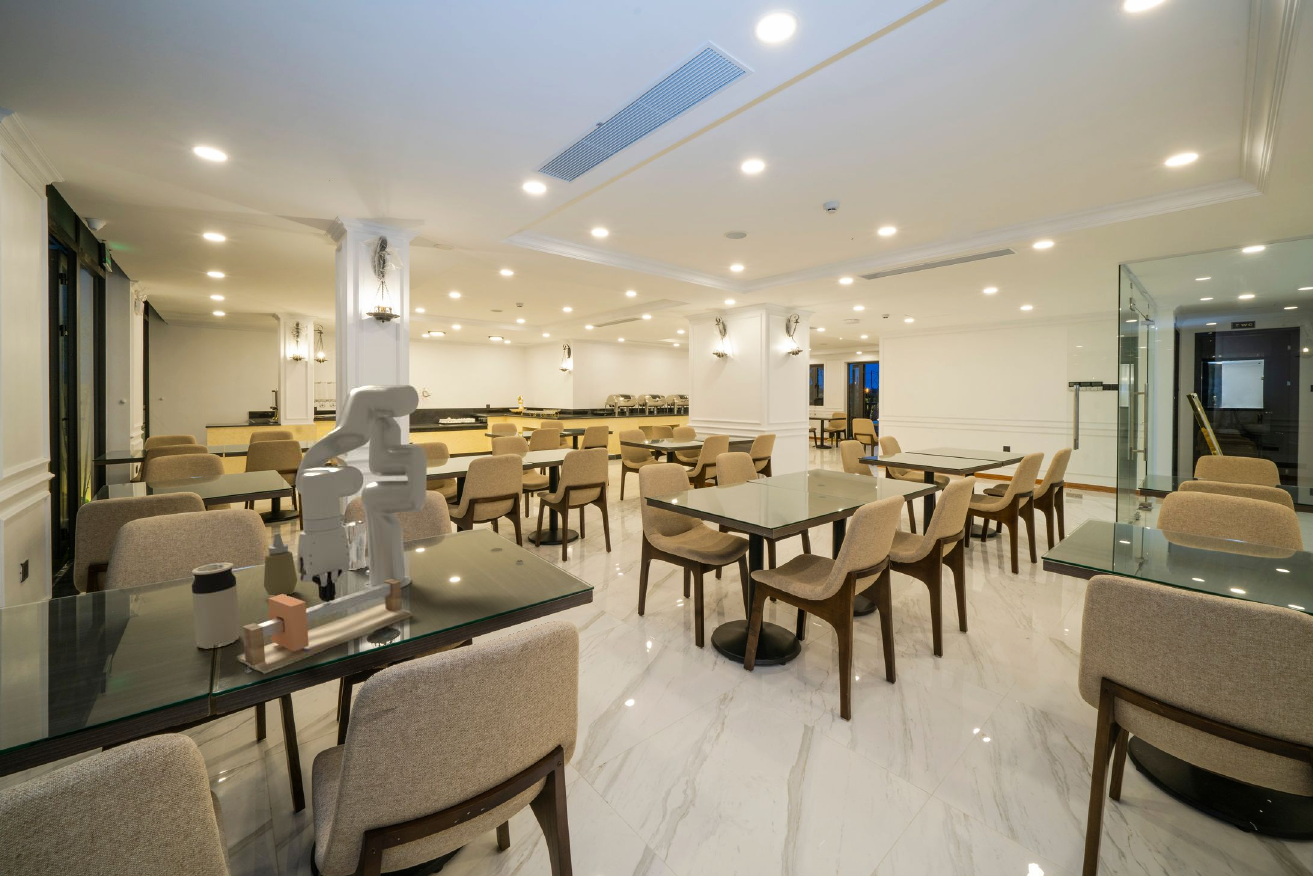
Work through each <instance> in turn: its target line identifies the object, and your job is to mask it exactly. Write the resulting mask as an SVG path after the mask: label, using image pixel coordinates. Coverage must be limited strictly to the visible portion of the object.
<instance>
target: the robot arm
mask: <svg viewBox="0 0 1313 876" xmlns="http://www.w3.org/2000/svg"><path fill="white" fill-rule="evenodd" d="M419 399H420V398H419V394H418V391H417V389H416V388H415V387H414V386H412V385H410V384H389V385H388V384H370V385H364V386H362V387H361V386H360V387H357V388H353V389H352V390H350V391H349V392H348V394H346V397H345V400H344V403H343V405H342V407H341V411H340V413H339V417H338V419H337V421H336V425H335V427H334V429H333V430H332V431H330V432H329V433H327V434H326V435H324V436H323V437H321V438H320V439H318V440H317V441H316V442H315V443H314V444H312V445H311V446H310V447H309V448H308V449H307V450H306V451H305V454H304V455H303V457H302V459H301V462H300V464H299V466H298V469H297V473H296V476H295V488H296V491H297V492H298V493H299V494H300V495H301V496H300V498H301V510H302V525H303V526H302V527H303V531H301V532H300V533H299V534H298V542H297V550H296V551H297V552H296V554H297V555H296V567H297V572H298V573H299V574H300V579H299V580H300V582H303V583H312V582H313V583H314V584H315V585H317V587H318V597H319V599H320V600H321V601H322V602H324V603H325V602H330V601H333V600H335V599H336V598H335V596H336V583H337V582H338V579H339V577H340V576H341V574H343V573H344V572H346V571H349V569H350V566H349V563H350V551H349V544H348V539H347V535H346V532H345V529H344V527H343V521H347V520H346V519H347V516H346V515H345V514H341V504H340V502H341V501H340V498H344V497H345V498H347V497H351V496H353V495H356V494H358V492H360V490H361V489H362V490H361V494H360V495H361V496H360V497H361V504H362V508H363V511H364V515H365V525H366V540H367V550H368V551H367V553H368V555H367V556H368V570H366V571H365V576H366V575H367V576H368V580H367V581H366V582H365V583H364V586H363V587H364V588H363V589H364V590H365V589H368V588H371V587H375V586H378V585H381V584H384V581H386V580H389V579H393V580H397V581H400V583H401V589H402V588H405V587H406V586H408V585H410V584H411V582H412V581H411V580H412V579H411V576H410V575H407V574H406V573H405V569H406V568H405V555H404V552H405V551H404V549H405V548H404V531H403V525H402V522H401V520H400V519H399V517H398V516H397V515H396V514H398V513H399V514H400V513H416V512H420V511H422V509H424V507H425V506H426V500H427V476H428V475H427V473H428V472H427V471H428V460H427V455H426V451H425V449H424V448H423V447H422V446H421V445H418V444H413V443H412V444H409V443H408V444H402V428H401V426H400V424H399V423H398V422H397V420H396V419H395V418H401V417H404V416H408V415H411V414H413V413H414V412H415V411H416V410H417V408H418V406H419V404H420V403H419V402H420V400H419ZM367 443H369V446H368V447H369V449H368V468H369V471H370V474H372V475H374V476H376V477H407V480H379V481H378V480H377V481H372V482H369V483H367V484H366V485H365V486H364V487H363V484H364V475H363V473H362V471H361V470H360V469H359V468H357V467H356V466H351V465H326V464H327V463H328V462H330V461H331V460H333V459H334V458H337V457H339V456H341V455H343V454H348V453H349V452H351V451H354V450H357V449H359V448H362V447H363V446H365V445H366V444H367ZM362 487H363V488H362Z"/></svg>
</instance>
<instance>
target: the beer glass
mask: <svg viewBox="0 0 1313 876" xmlns="http://www.w3.org/2000/svg"><path fill="white" fill-rule="evenodd" d="M342 526H343V527H344V529H345V532H346V535H347V539H348V544H349V551H350V563H349V566H350V569H349V570H354V571H358V570H357V569H360V568H363V569H366V568H367V567H366V566H368V565H367V561H366V549H367V548H366V546H367V526H366V521H363V520H362V521H360V520H357V521H349V522H345V523H342ZM365 567H366V568H365ZM349 570H348V571H349ZM360 570H361V569H360Z"/></svg>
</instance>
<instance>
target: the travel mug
mask: <svg viewBox="0 0 1313 876" xmlns="http://www.w3.org/2000/svg"><path fill="white" fill-rule="evenodd" d="M233 568H234V563H233V562H214V563H211V564H210V563H209V564H204V565H201V566H199V567H195V568H193V569H192V571H191V573H192V574H193V577H194V580H193V582H192V584H191V595H192V605H193V618H194V627H195V639H196V640H195V641H196V646H197V645H200V646H212V645H219V644H221V643H226V642H229V641H230V640H234V639H236V638H237V637H239V636H240V637H241V627H240V626H241V625H240V616H239V615H240V614H239V602H238V601H239V600H238V590H237V589H238V588H237V587H238V586H237V578H236V576H235V575H234V573H233V572H232V571H233Z"/></svg>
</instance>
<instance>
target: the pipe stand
mask: <svg viewBox="0 0 1313 876" xmlns="http://www.w3.org/2000/svg"><path fill="white" fill-rule="evenodd" d="M383 597H384V603H380V604H378V605H376V606H372V607H370V608H367V609H365V610H361V611H359V612H356V613H353V614H350V615H348V616H345V617H343V618H342V617H341V618H339V619H336V620H333V621H331V622H327V623H325V624H323V625H320V626H317V627H314V628H312V629H308V643H309V646H307V647H304V648H302V649H299V650H297V651H292V650H290V649H288V648H285V647H283V646H281V645H279V644H276V643H274V642H272V643H269V644H267V645H265V643H264V638H268V637H271V635H273V634H276V633H279V632H282V631H285V625H284V619H283V618H281V617H279V618H276V619H273V620H270V619H269V620H267V621H264V622H261V623H258V624H257V623H255V622H253V623H250V624H245V625H243V626H242V633H243V645H244V646H243V647H244V653H242V654H238V655H236V658H237V657H238V658H239V659H241V660H244V661H245V662H248V663H250V664H251V665H253V666H255V667H256V668H258V669H260V670H262V671H267V670H269V669H272V668H275V667H277V666H281V665H285V664H286V663H290V662H293V661H296V660H299V659H302V660H304V659H305V658H304V657H306V656H309V655H312V654H315V653H317V652H319V651H322V652H324V651H323V650H324V649H327V648H330V647H332V646H335V645H337V646H339V645H338V644H340V643H342V644H344V643H343V642H345V643H347V642H349V641H348V640H350V641H352V640H355V639H357V638H359V637H363V636H365V635H367V634H369V633H372V632H374V631H377V630H379V629H382V628H385V627H387V626H389V625H392V624H395V623H398V622H399V621H403V620H405V619H407V618H408V619H409V618H410V617H412V612H411V611H409V610H406V609H403V605H402V602H403V601H402V588H401V583H400V581H397V580H393V579H389V580H386V581H384V584H381V585H378V586H375V587H371V588H368V589H365V588H364V589H363V590H360V591H356V592H353V593H351V594H348V595H344V596H341V597H338V598H335V600H333V601H330V602H325V601H324V602H322V603H320V604H316V605H314V606H310V607H308V608H307V607H306V613H307V624H308V623H310V622H313V621H315V620H319V619H322V618H324V617H328V616H331V615H333V614H336V613H339V612H342V611H345V610H348V609H351V608H354V607H356V606H359V605H362V604H366V603H368V602H371V601H373V600H378V599H379V598H383ZM351 639H352V640H351ZM340 645H341V644H340ZM335 647H336V646H335ZM332 648H333V647H332ZM330 649H331V648H330ZM327 650H328V649H327ZM317 654H318V653H317ZM315 655H316V654H315ZM312 656H313V655H312ZM309 657H310V656H309ZM303 658H304V659H303ZM299 661H300V660H299Z"/></svg>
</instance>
